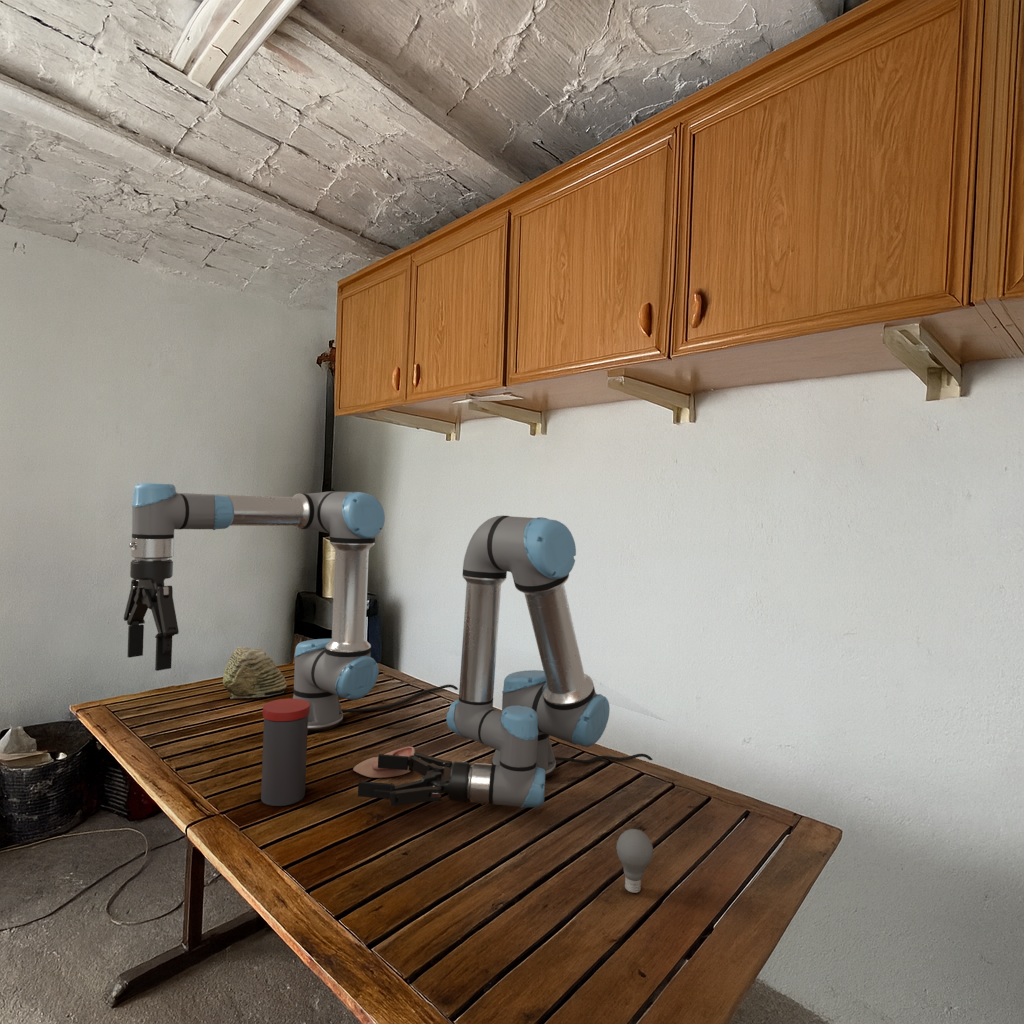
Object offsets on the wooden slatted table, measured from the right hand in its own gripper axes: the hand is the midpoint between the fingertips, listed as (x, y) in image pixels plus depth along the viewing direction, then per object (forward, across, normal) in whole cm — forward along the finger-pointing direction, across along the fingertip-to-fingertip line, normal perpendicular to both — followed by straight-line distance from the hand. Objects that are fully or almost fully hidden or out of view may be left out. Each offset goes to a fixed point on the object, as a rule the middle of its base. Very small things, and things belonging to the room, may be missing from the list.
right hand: (368, 774), depth 132 cm
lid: (+18, 0, +13) cm, 22 cm away
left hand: (+45, -6, +22) cm, 50 cm away
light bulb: (-52, -22, -6) cm, 57 cm away
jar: (+18, 0, -6) cm, 19 cm away
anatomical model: (+1, +17, -6) cm, 18 cm away
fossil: (+56, +62, -6) cm, 84 cm away
